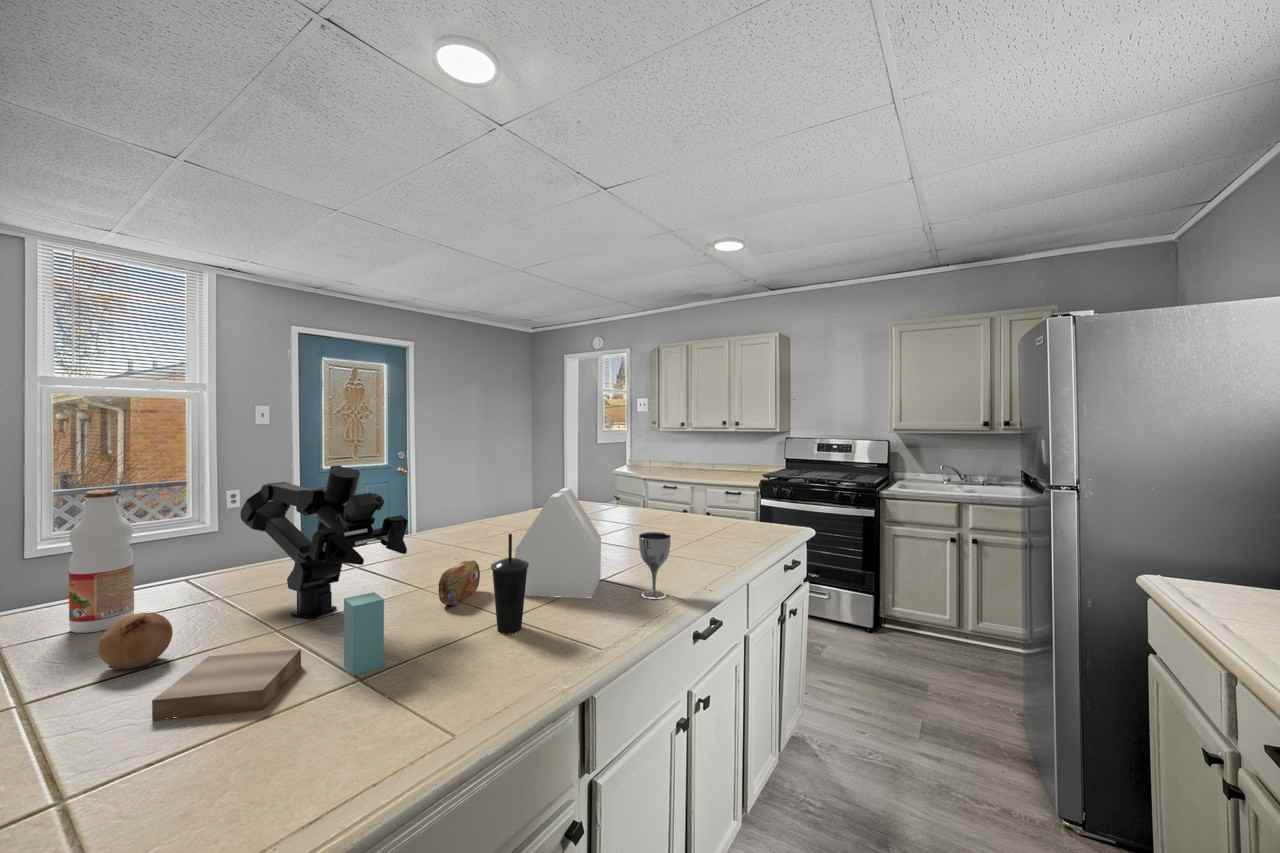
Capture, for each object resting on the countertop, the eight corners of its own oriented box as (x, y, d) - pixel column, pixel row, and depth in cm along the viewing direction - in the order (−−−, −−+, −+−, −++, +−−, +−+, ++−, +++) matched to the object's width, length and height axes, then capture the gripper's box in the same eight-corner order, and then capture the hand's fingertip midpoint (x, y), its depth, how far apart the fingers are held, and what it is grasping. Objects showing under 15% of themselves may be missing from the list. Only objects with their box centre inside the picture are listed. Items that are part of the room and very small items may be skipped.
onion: (143, 687, 89) (143, 644, 86) (82, 676, 88) (79, 632, 84) (185, 645, 98) (186, 604, 95) (131, 634, 97) (130, 593, 93)
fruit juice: (127, 627, 107) (126, 492, 106) (61, 638, 101) (59, 495, 101) (139, 613, 114) (138, 486, 114) (78, 621, 109) (77, 489, 109)
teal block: (343, 665, 92) (343, 598, 92) (374, 656, 95) (374, 592, 95) (352, 676, 88) (352, 606, 88) (383, 666, 92) (383, 599, 92)
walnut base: (209, 673, 88) (208, 656, 88) (300, 665, 92) (301, 648, 92) (152, 720, 75) (152, 700, 75) (262, 709, 78) (262, 689, 78)
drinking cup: (535, 625, 111) (535, 531, 110) (515, 639, 103) (516, 539, 103) (504, 620, 113) (505, 528, 113) (482, 633, 106) (483, 536, 105)
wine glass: (675, 593, 131) (676, 534, 131) (659, 603, 125) (660, 540, 124) (648, 587, 136) (649, 530, 135) (632, 596, 129) (632, 536, 129)
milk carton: (514, 596, 128) (515, 495, 128) (531, 577, 144) (532, 487, 143) (591, 598, 127) (592, 497, 127) (600, 579, 143) (601, 488, 142)
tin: (448, 611, 118) (448, 574, 118) (435, 609, 119) (435, 573, 119) (481, 589, 133) (481, 556, 133) (469, 588, 133) (470, 556, 133)
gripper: (303, 492, 100) (346, 529, 93) (391, 482, 116) (434, 513, 109) (292, 542, 102) (334, 583, 95) (380, 526, 118) (422, 559, 111)
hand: (385, 556), depth 103 cm, fingers open, 9 cm apart
